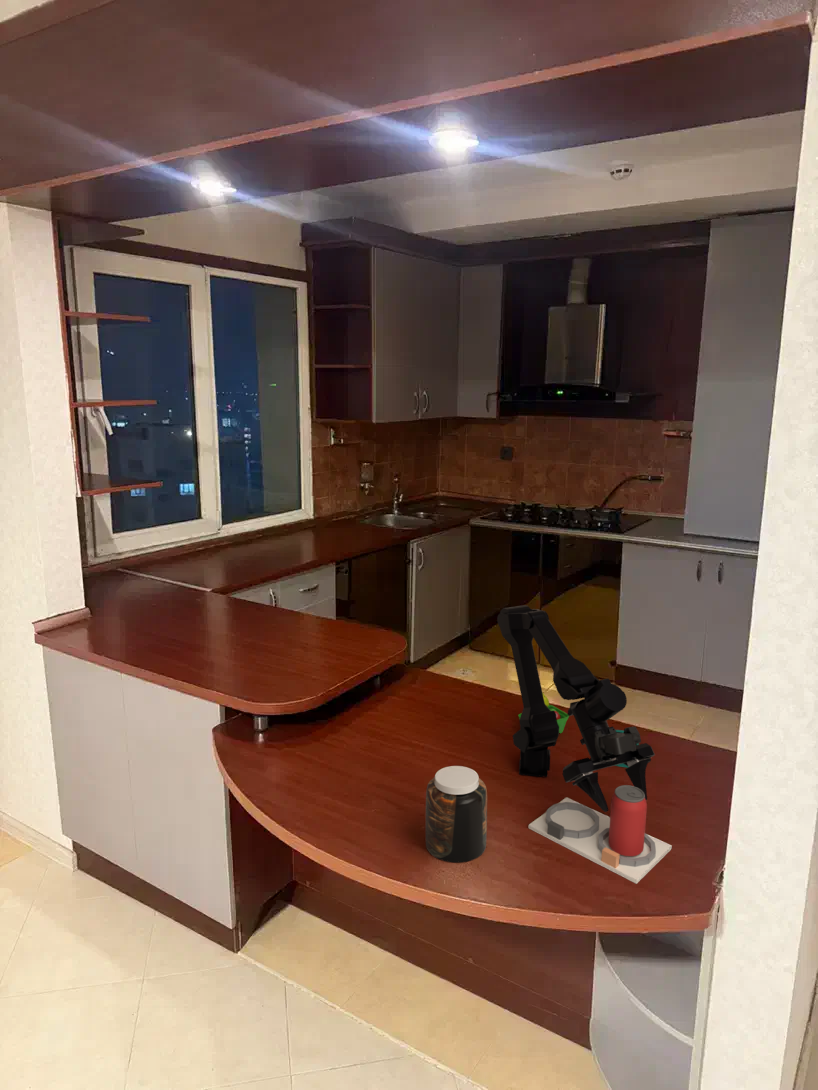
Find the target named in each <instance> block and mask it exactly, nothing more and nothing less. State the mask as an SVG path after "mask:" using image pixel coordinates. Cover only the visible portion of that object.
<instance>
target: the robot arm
mask: <svg viewBox="0 0 818 1090" xmlns="http://www.w3.org/2000/svg"><path fill="white" fill-rule="evenodd" d="M496 619H497V620H496V621H497V625H498V627H499V630H500V632H501V635H502V637H503V638H504V639H505V640H506V642H507V643H508V645H509V646H511V650H512V652H511V653H512V655H513V660H514V667H515V672H516V675H517V676H516V677H517V682H518V685H519V691H520V695H521V701H522V706H523V708H522V711H521V713H522V714H521V713H520V714H521V717H520V719H518V721H519V730H518V731H516V732H515V733H514V734H513V735H512V741H513V745H514V747H516V748H517V749H519V750H520V755H519V757H520V758H519V763H518V764H519V766H518V767H519V768H518V774H519V775H520V776H527V777H528V776H529V777H539V778H540V777H542V778H547V777H548V772H549V771H550V768H551V750H550V749H549V747H550V748H551V747H556V743H557V741H558V738H559V736H560V734H559V726H558V723H557V718H556V713H555V711H551V710H550V709H549V708H548V707H547V706H546V705H545V702H544V698H543V694H544V692H543V688H542V684H541V678H540V675H539V674H540V673H539V670H538V664H537V660H536V655H535V651H534V645H533V639H534V641H535V643H536V645H537V646H538V647H539V649H540V651H541V653H542V654H543V656H544V657H545V659H546V660H547V662H548V663H549V665H550V667H551V669H552V672H553V675H552V681H553V684H554V686H555V688H556V691H557V693H558V695H559V697H561V698H562V699H563V700H566V701H571V700H572V701H573V702H570V703H569V707H568V710H567V714H568V716H569V717H571V716H573V717H574V719H575V723H576V725H577V728H578V729H579V733H580V734H581V737H582V738H581V739H580V740H579V742H580V744H581V745H583V746H584V745H585V748H586V749H587V752H588V754H589V757H585V758H580V759H578V760H573V761H572V762H570V763H569V764H567V765H566V766H563V768H562V777H563V780H564V782H565V783H571V782H572V783H571V785H572V786H577V787H578V788H579V789H580V790H581V791H583V792H584V793H585V794H586V795H587V796H588V797H590V798H591V800H592V801H594V803H595V804H597V806H598V808H600V809H601V810H602V811H603V812H604V813H608V812H609V810H610V809H609V807H608V806H609V805H608V803H607V800H606V797H605V795H604V793H603V791H602V788H601V786H600V784H599V772H598V770H599V771H600V770H603V769H607V768H610V767H614V766H615V765H619V764H622V763H623V764H625V765H627V766H628V768H625V769H624V771H625V773H626V774H627V776H628V778H629V780H630V782H631V783H632V786H634V787H637V788H639V789H641V790H642V791H643V792H644V794H645V800H646V801H647V800H648V794H647V793H648V791H647V790H648V789H647V781H646V779H647V778H646V773H647V772H646V770H647V766H648V764H649V763H650V762H651V761H652V758H653V757H654V756H656V754H655V752H654V749H653V748H652V745H650V744H649V743H647V742H644V743H642V738H641V734H640V732H639V730H638V729H637V727H636V726H629V727H628V726H627V727H625V728H624V729H623V730H624V732H623V733H617V732H616V730H617V729H615V727H614V726H609V724H608V720H610V719H611V718H612V717H614V716H615V715H617V714H619V713H620V712H621V711H623V710H624V709H625V708H626V706H627V703H628V702H627V701H628V700H627V695H626V693H625V691H623V690H622V688H620V687H619V686H618V685H617V684H614V683H612V682H611V680H610V679H609V678H604V679H598V678H597V677H596V676H595V675H594V674H593V673H592V671H591V670H590V669H589V667H588V666H586V664H585V663H584V662H582V661H581V660H579V659H577V658H575V657H574V656H573V655H572V654H571V652H570V651H569V649H568V648H567V646H566V645H565V642H563V640H562V639H561V637H560V635H559V634H558V632H557V630H556V629H555V628H554V626H553V624H552V623H551V621H550V617H549V614H548V613H547V611H546V610H542V609H541V610H540V609H538V608H537V609H536V608H533V609H532V608H530V606H529V605H526V604H525V605H524V604H523V605H517V606H511V607H504V608H502V609H500V611H499V613H498V615H497V618H496ZM542 692H543V693H542ZM580 699H581V700H580ZM574 700H575V701H574ZM576 700H577V701H576ZM578 700H579V701H578ZM638 743H639V745H636V746H635V744H638ZM640 743H641V744H640ZM615 767H616V766H615ZM595 771H596V772H595Z"/></svg>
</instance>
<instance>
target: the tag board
mask: <svg viewBox="0 0 818 1090" xmlns="http://www.w3.org/2000/svg"><path fill="white" fill-rule="evenodd" d="M609 827H610V816H608V815H607V814H603V813H602V812H599V811H597V810H595V809H593V808H590V807H588V806H586V805H585V804H582V803H579V801H575V800H574V799H571V798H570V797H564V799H562V800H561V801H560V802H558V803H554V804H552V805H551V806H550V807H549V808H547V809H546V811H545V812H544V813H543V814H541V816H539V817H538V818H536V819H534V821H532V822H530V823H529V824H528V829H529V830H531V831H533V832H535V833H537V834H539V835H541V836H543V837H545V838H547V839H549V840H550V841H553V842H554V843H556V844H558V845H560V846H562V847H564V848H566V849H568V850H570V851H572V852H573V853H575V854H577V855H580V856H582V857H583V858H585V859H588V861H589V860H590V861H591V862H593V863H595V864H597V865H599V866H601V867H603V868H605V869H607V870H609V871H610V872H613V873H615V874H617V875H618V876H620V877H623V878H624V879H626V880H628V881H630V882H632V883H634V884H636V885H637V884H638V883H639V882H640V881H641V880H642V879H643V878H644V877H645V876H646V875H647V874H648V873H649V872H650V871H651V870H652V869H653V868H654V867H655V866H656V865H657V864H658V863H659V862H660V861H661V860H662V859H663V858H664V857H665V856H666V855H667V854H668V853H669V852H670V851H671V850H672V846H673V845H671V844H669V843H667V842H665V841H662V840H661V839H658V838H656V837H653V836H651V835H649V834H647V833H645V837H644V848H643V851H642V852H641V854H639V855H637V856H633V857H626V856H622V855H620V854H618V853H616V852H614V851H613V850H612V849H611V848H610V846H609V843H608V842H609Z"/></svg>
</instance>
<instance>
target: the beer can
mask: <svg viewBox="0 0 818 1090" xmlns="http://www.w3.org/2000/svg"><path fill="white" fill-rule="evenodd" d="M647 811H648V804H647V800H645V794H644V792H643V791H642V790H641V789H639V788H637V787H634V785H628V784H624V785H619V786H617V787H616V788H615V789H614V793H613V794H612V797H611V801H610V815H609V817H610V827H609V842H608V843H609V846H610V848H611V849H612V850H613V851H614V852H616V853H618V854H620V855H622V856H626V857H633V856H637V855H639V854H641V852H642V851H643V848H644V837H645V834H646V822H647Z"/></svg>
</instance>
